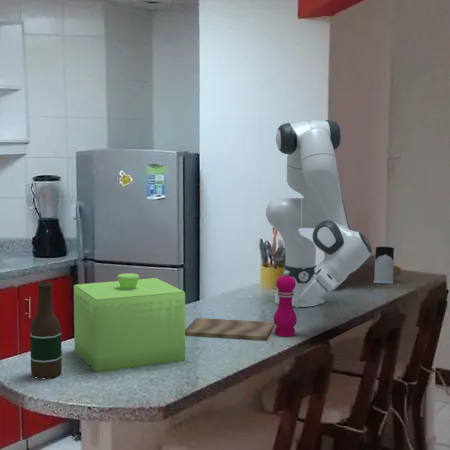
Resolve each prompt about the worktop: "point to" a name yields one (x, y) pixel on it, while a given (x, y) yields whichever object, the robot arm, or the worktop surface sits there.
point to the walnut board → (230, 329)
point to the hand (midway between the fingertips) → (295, 305)
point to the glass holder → (384, 265)
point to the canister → (129, 323)
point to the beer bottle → (45, 337)
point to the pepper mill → (285, 306)
